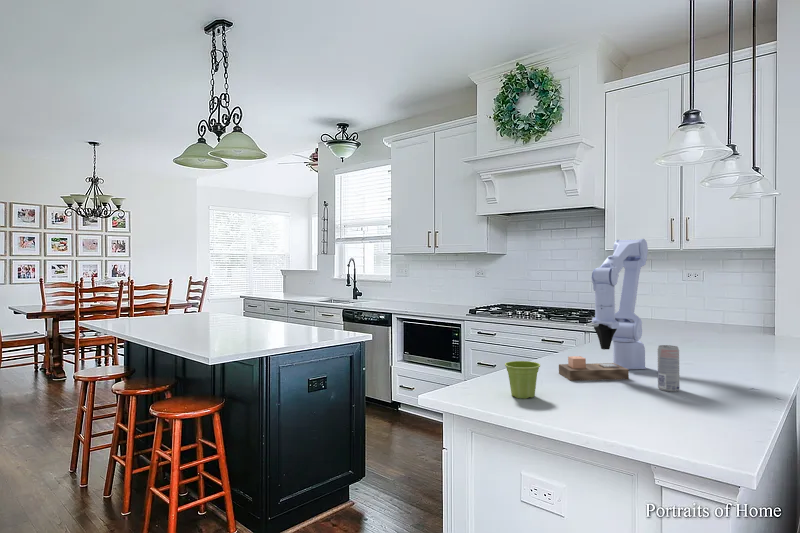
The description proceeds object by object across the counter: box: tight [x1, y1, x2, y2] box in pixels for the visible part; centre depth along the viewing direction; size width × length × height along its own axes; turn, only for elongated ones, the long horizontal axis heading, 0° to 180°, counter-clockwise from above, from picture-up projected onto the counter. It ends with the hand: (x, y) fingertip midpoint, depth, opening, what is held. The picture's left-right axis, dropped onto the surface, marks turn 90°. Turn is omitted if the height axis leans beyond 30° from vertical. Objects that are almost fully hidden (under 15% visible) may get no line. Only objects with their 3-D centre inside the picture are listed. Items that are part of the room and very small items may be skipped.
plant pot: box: [504, 360, 541, 399], centre depth 140 cm, size 9×9×9 cm
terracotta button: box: [567, 355, 587, 369], centre depth 162 cm, size 4×4×3 cm
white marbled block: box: [599, 364, 618, 368], centre depth 162 cm, size 4×4×3 cm
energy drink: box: [657, 344, 681, 393], centre depth 145 cm, size 5×5×12 cm
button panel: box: [558, 362, 630, 382], centre depth 162 cm, size 18×10×3 cm, turn 92°
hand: (605, 349), depth 162 cm, fingers closed
